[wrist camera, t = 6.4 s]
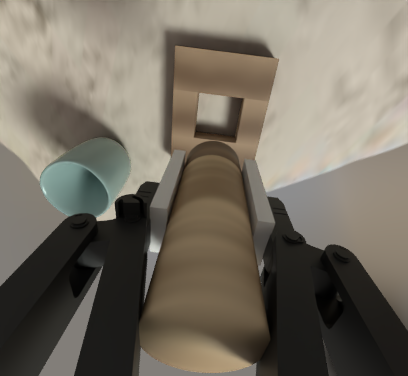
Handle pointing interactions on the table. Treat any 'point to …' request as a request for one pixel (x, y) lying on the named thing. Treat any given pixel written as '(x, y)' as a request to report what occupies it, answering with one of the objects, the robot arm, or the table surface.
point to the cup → (87, 177)
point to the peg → (206, 273)
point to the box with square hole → (225, 86)
